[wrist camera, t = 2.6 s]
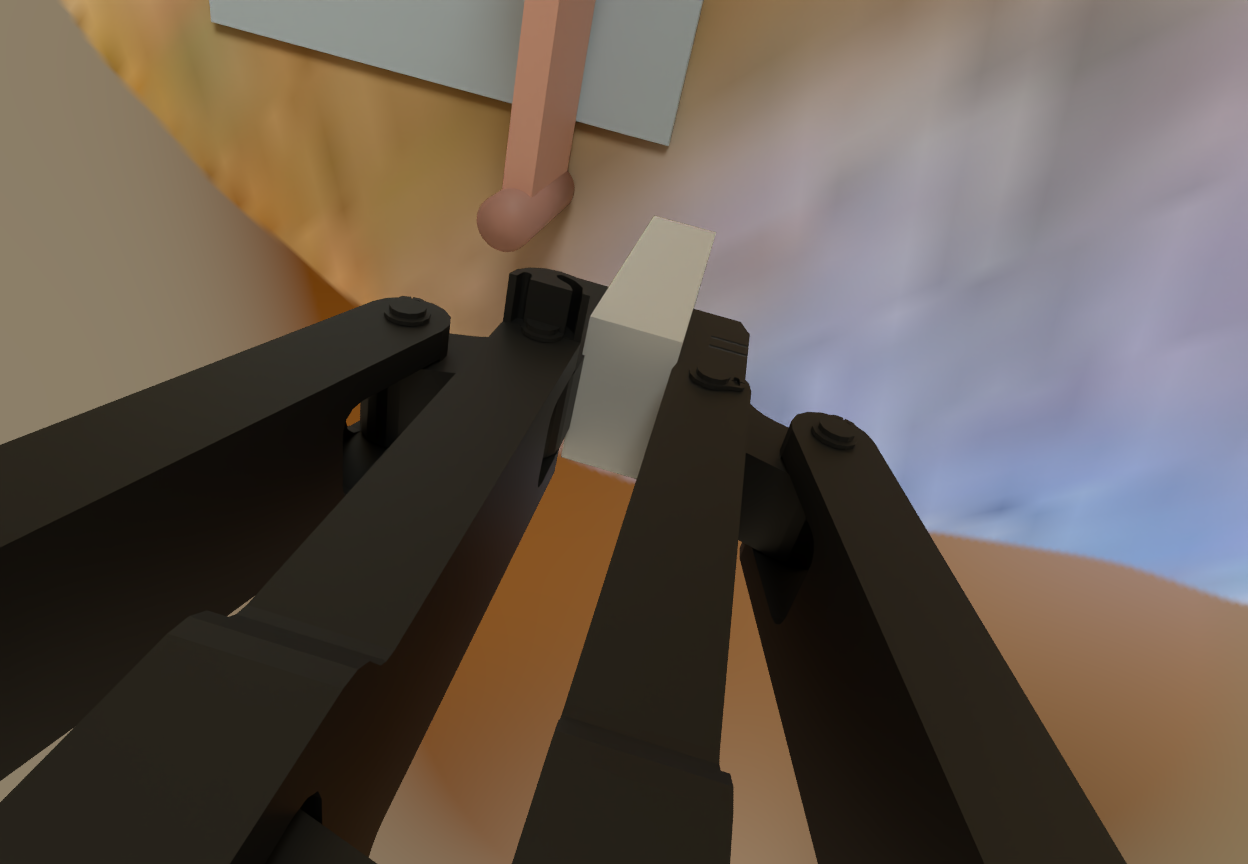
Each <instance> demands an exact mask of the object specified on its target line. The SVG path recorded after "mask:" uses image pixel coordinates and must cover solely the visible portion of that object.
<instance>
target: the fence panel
mask: <svg viewBox="0 0 1248 864" xmlns="http://www.w3.org/2000/svg"><path fill="white" fill-rule="evenodd" d="M595 1H596V0H525V1H524V9H523V18H522V26H521V35H520V43H519V51H518V60H517V68H516V77H515V85H514V94H513V102H512V110H511V119H510V127H509V136H508V144H507V153H506V161H505V169H504V178H503V186H502V190H500V191H499V192H497V193H495V194H494V195H492V196H491V197H489V198H488V199H486V200H485V201H484V202H483V203H482V204H481V206H480V208H479V210H478V213H477V226H478V229H479V232H480V234H481V236H482V238H483V239H484V240H485V241H486V242H487V243H488V244H489V245H490V246H491V247H493V248H495V249H497V250H499V251H503V252H511V251H515V250H518V249H520V248H521V247H522V246H523V245H525V244H526V243H527V242H528V241H529V240H530V239H531V238H532V237H533V236H534V235H536V234H537V233H538V232H539V231H540V230H541V229H542V228H543V227H544V226H545V225H546V224H548V223H549V222H550V221H551V220H552V219H553V218H554V217H555V216H556V215H557V214H559V213H560V212H561V211H562V210H563V209H564V208H565V207H566V206H567V205H568V204H569V203H570V202H571V200H572V198H573V195H574V182H573V179H572V177H571V175H570V173H569V172H568V171H567V170H568V164H569V158H570V152H571V146H572V139H573V133H574V127H575V121H576V115H577V109H578V103H579V97H580V91H581V85H582V79H583V73H584V67H585V61H586V55H587V49H588V43H589V37H590V31H591V25H592V19H593V13H594V7H595Z"/></svg>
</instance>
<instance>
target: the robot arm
mask: <svg viewBox="0 0 1248 864" xmlns="http://www.w3.org/2000/svg"><path fill="white" fill-rule="evenodd" d="M715 234H716V233H715V232H712V231H708V230H705V229H701V228H697V227H694V226H690V225H687V224H683V223H679V222H676V221H672V220H668V219H665V218H661V217H658V216H654V217H653V218H652V220H651V221H650V223H649V225H648V226H647V228H646V229H645V231H644V232H643V234H642V236H641V237H640V239H639V240H638V242H637V243H636V245H635V247H634V248H633V250H632V251H631V253H630V254H629V256H628V258H627V259H626V261H625V262H624V264H623V265H622V267H621V269H620V270H619V272H618V273H617V275H616V276H615V278H614V280H613V281H612V283H611V284H610V286H609V287H607V286H604V285H600V284H597V283H593V282H590V281H586V280H582V279H579V278H576V277H574V276H571V275H568V274H566V273H563V272H560V271H555V270H550V269H545V268H524V269H517V270H515V271H513V272H511V273H510V274H509V281H508V289H507V296H506V303H505V311H504V318H503V322H502V323H501V324H500V325H499V326H498V327H497V328H496V329H495V330H494V332H493V333H492V334H491V335H490V336H489V337H476V336H466V335H458V334H450V333H449V330H450V319H451V317H450V316H449V315H448V313H447V312H446V311H445V310H444V309H442V308H440V307H438V306H437V305H435V304H432V303H429V302H426V301H424V300H422V299H420V298H415V297H413V299H411V297H407V296H401V297H399V298H384V299H380V300H376V301H372V302H370V303H367V304H365V305H362V306H359V307H357V308H354V309H352V310H349V311H347V312H344V313H341V314H339V315H336V316H334V317H331V318H328V319H326V320H323V321H321V322H318V323H316V324H313V325H310V326H308V327H305V328H302V329H300V330H297V331H295V332H292V333H289V334H287V335H285V336H282V337H279V338H276V339H274V340H271V341H269V342H266V343H264V344H261V345H258V346H256V347H253V348H251V349H248V350H245V351H243V352H240V353H238V354H235V355H233V356H230V357H227V358H225V359H222V360H220V361H217V362H214V363H212V364H209V365H206V366H204V367H201V368H199V369H196V370H193V371H191V372H188V373H186V374H183V375H181V376H178V377H175V378H173V379H170V380H168V381H165V382H162V383H160V384H157V385H155V386H152V387H149V388H147V389H144V390H142V391H139V392H136V393H134V394H131V395H129V396H126V397H123V398H121V399H118V400H116V401H113V402H111V403H108V404H105V405H103V406H100V407H98V408H95V409H92V410H90V411H87V412H85V413H82V414H79V415H77V416H74V417H72V418H69V419H67V420H64V421H61V422H59V423H56V424H53V425H51V426H48V427H46V428H43V429H40V430H38V431H35V432H33V433H30V434H27V435H25V436H22V437H20V438H17V439H15V440H12V441H9V442H7V443H4V444H2V445H0V781H1V780H2V779H4V778H5V777H6V776H8V775H9V774H10V773H12V772H13V771H15V770H16V769H17V768H19V767H20V766H21V765H23V764H24V763H26V762H27V761H28V760H30V759H31V758H33V757H34V756H35V755H37V754H38V753H39V752H41V751H42V750H43V749H45V748H46V747H48V746H49V745H50V744H52V743H53V742H54V741H56V740H57V739H59V738H60V737H61V736H63V735H64V734H66V733H67V732H68V731H70V730H71V729H72V728H73V730H72V731H70V733H69V734H67V736H66V737H65V738H64V739H63V740H62V741H61V742H60V743H59V744H58V745H57V746H56V747H55V748H54V749H53V750H52V751H51V752H50V753H49V754H48V755H47V756H46V757H45V758H44V759H43V760H42V761H41V762H40V763H39V764H38V765H37V766H36V767H35V768H34V769H33V770H32V771H31V772H30V773H29V774H28V775H27V776H26V777H25V778H24V779H23V780H22V781H21V782H20V783H19V784H18V785H17V786H16V787H15V788H14V789H13V790H12V791H11V792H10V793H9V794H8V795H7V796H6V797H5V798H4V799H3V800H2V801H1V802H0V864H376V863H375V862H374V861H372V860H371V859H370V858H369V855H370V851H371V848H372V845H373V842H374V840H375V837H376V835H377V832H378V830H379V828H380V825H381V823H382V821H383V819H384V817H385V814H386V813H387V811H388V809H389V806H390V805H391V802H392V800H393V798H394V796H395V794H396V792H397V790H398V788H399V786H400V784H401V782H402V780H403V778H404V776H405V774H406V772H407V770H408V768H409V766H410V764H411V762H412V760H413V758H414V756H415V754H416V751H417V750H418V748H419V745H420V744H421V742H422V740H423V737H424V735H425V733H426V731H427V729H428V727H429V725H430V723H431V721H432V719H433V717H434V715H435V713H436V711H437V709H438V707H439V705H440V703H441V701H442V699H443V697H444V695H445V693H446V691H447V689H448V687H449V685H450V682H451V681H452V678H453V677H454V675H455V672H456V670H457V668H458V666H459V664H460V662H461V660H462V658H463V656H464V654H465V652H466V650H467V648H468V646H469V644H470V642H471V640H472V638H473V636H474V634H475V632H476V630H477V628H478V626H479V623H480V622H481V620H482V618H483V616H484V613H485V612H486V610H487V607H488V605H489V603H490V601H491V599H492V597H493V595H494V593H495V591H496V589H497V587H498V585H499V583H500V581H501V579H502V577H503V575H504V573H505V571H506V569H507V567H508V565H509V563H510V560H511V558H512V557H513V554H514V553H515V550H516V548H517V547H518V545H519V542H520V540H521V538H522V536H523V534H524V532H525V530H526V528H527V526H528V524H529V522H530V520H531V518H532V516H533V514H534V512H535V510H536V508H537V506H538V504H539V502H540V500H541V498H542V496H543V494H544V492H545V490H546V488H547V485H548V484H549V481H550V479H551V477H552V475H553V473H554V471H555V465H556V461H557V456H558V451H559V447H560V445H561V443H562V442H563V440H564V438H565V440H564V445H563V450H562V454H561V457H563V458H567V459H570V460H573V461H577V462H580V463H584V464H587V465H590V466H594V467H597V468H601V469H604V470H607V471H611V472H614V473H617V474H621V475H624V476H628V477H631V478H634V479H637V480H636V483H635V486H634V489H633V493H632V496H631V499H630V502H629V505H628V508H627V511H626V515H625V518H624V521H623V524H622V527H621V530H620V533H619V537H618V540H617V543H616V546H615V549H614V552H613V556H612V558H611V562H610V565H609V568H608V571H607V574H606V577H605V581H604V584H603V587H602V590H601V593H600V596H599V599H598V602H597V606H596V609H595V612H594V615H593V618H592V622H591V625H590V628H589V631H588V634H587V637H586V640H585V644H584V647H583V650H582V653H581V656H580V659H579V663H578V665H577V669H576V672H575V675H574V678H573V681H572V684H571V687H570V691H569V694H568V697H567V700H566V703H565V706H564V709H563V712H562V715H561V718H560V720H559V721H558V723H557V726H556V729H555V732H554V735H553V738H552V741H551V744H550V747H549V750H548V753H547V756H546V759H545V762H544V766H543V769H542V772H541V775H540V778H539V781H538V784H537V787H536V790H535V793H534V797H533V800H532V803H531V806H530V809H529V812H528V815H527V818H526V822H525V825H524V828H523V831H522V834H521V837H520V840H519V843H518V846H517V850H516V853H515V856H514V859H513V862H512V864H730V856H731V840H732V824H733V784H732V780H731V775H730V774H729V773H726V772H722V771H721V770H720V766H719V755H720V742H721V730H722V719H723V718H722V717H723V706H724V695H725V684H726V673H727V661H728V650H729V639H730V627H731V616H732V604H733V592H734V582H735V570H736V559H737V547H738V540H739V541H741V542H742V544H741V546H740V561H741V565H742V569H743V573H744V577H745V581H746V585H747V588H748V592H749V596H750V600H751V604H752V608H753V612H754V615H755V620H756V624H757V628H758V631H759V635H760V639H761V643H762V647H763V651H764V655H765V658H766V663H767V667H768V670H769V674H770V678H771V682H772V686H773V690H774V694H775V698H776V702H777V706H778V709H779V713H780V717H781V721H782V725H783V729H784V733H785V737H786V741H787V745H788V748H789V753H790V756H791V760H792V764H793V768H794V772H795V776H796V780H797V784H798V788H799V792H800V796H801V800H802V803H803V807H804V811H805V815H806V819H807V823H808V826H809V831H810V834H811V839H812V842H813V846H814V850H815V854H816V858H817V862H818V864H1127V863H1126V862H1125V860H1124V858H1123V857H1122V855H1121V853H1120V852H1119V850H1118V848H1117V847H1116V845H1115V843H1114V842H1113V840H1112V839H1111V837H1110V835H1109V833H1108V832H1107V830H1106V828H1105V827H1104V825H1103V823H1102V822H1101V820H1100V818H1099V817H1098V815H1097V813H1096V812H1095V810H1094V808H1093V807H1092V805H1091V803H1090V802H1089V800H1088V799H1087V797H1086V795H1085V793H1084V792H1083V790H1082V788H1081V787H1080V785H1079V783H1078V782H1077V780H1076V778H1075V777H1074V775H1073V773H1072V772H1071V770H1070V768H1069V767H1068V765H1067V763H1066V762H1065V760H1064V758H1063V757H1062V755H1061V753H1060V752H1059V750H1058V748H1057V747H1056V745H1055V743H1054V742H1053V740H1052V738H1051V737H1050V735H1049V733H1048V732H1047V730H1046V728H1045V727H1044V725H1043V723H1042V722H1041V720H1040V718H1039V717H1038V715H1037V713H1036V712H1035V710H1034V708H1033V707H1032V705H1031V703H1030V702H1029V700H1028V698H1027V697H1026V695H1025V694H1024V692H1023V690H1022V688H1021V687H1020V685H1019V683H1018V682H1017V680H1016V678H1015V676H1014V675H1013V673H1012V671H1011V670H1010V668H1009V666H1008V665H1007V663H1006V661H1005V660H1004V658H1003V656H1002V655H1001V653H1000V651H999V650H998V648H997V646H996V645H995V643H994V641H993V640H992V638H991V637H990V635H989V633H988V631H987V630H986V628H985V626H984V625H983V623H982V621H981V620H980V618H979V617H978V615H977V613H976V612H975V610H974V608H973V606H972V605H971V603H970V601H969V600H968V598H967V597H966V595H965V593H964V591H963V590H962V588H961V586H960V585H959V583H958V582H957V580H956V578H955V576H954V575H953V573H952V572H951V570H950V568H949V566H948V565H947V563H946V561H945V560H944V558H943V556H942V555H941V553H940V552H939V550H938V548H937V546H936V545H935V543H934V541H933V540H932V538H931V536H930V535H929V533H928V531H927V530H926V528H925V526H924V525H923V523H922V521H921V520H920V518H919V516H918V515H917V513H916V511H915V510H914V508H913V506H912V505H911V503H910V501H909V500H908V498H907V496H906V495H905V493H904V491H903V490H902V488H901V486H900V485H899V483H898V481H897V480H896V478H895V476H894V475H893V473H892V471H891V470H890V468H889V466H888V465H887V463H886V461H885V460H884V458H883V456H882V455H881V453H880V451H879V450H878V448H877V446H876V445H875V443H874V442H873V441H872V439H871V438H870V437H869V436H868V435H867V434H866V433H865V432H864V431H862V430H861V429H859V428H858V427H856V426H855V425H854V423H852V422H850V421H848V420H846V419H845V420H843V418H842V417H839V416H836V415H828V414H824V413H816V412H806V413H802V414H798V415H796V416H795V418H794V419H793V420H792V421H791V424H790V426H789V428H788V427H786V426H784V425H782V424H780V423H778V422H775V421H774V420H772V419H770V418H768V417H766V416H764V415H763V414H762V413H760V412H759V411H758V410H756V409H755V408H754V407H753V406H752V405H751V404H750V399H751V389H750V386H749V383H748V382H747V381H746V380H745V376H746V366H747V355H748V346H749V336H750V335H749V333H748V332H747V330H746V329H745V328H744V326H743V325H742V323H741V322H738V321H735V320H731V319H728V318H724V317H721V316H717V315H714V314H710V313H707V312H703V311H699V310H696V309H694V306H695V303H696V300H697V296H698V293H699V289H700V286H701V282H702V279H703V275H704V272H705V269H706V265H707V262H708V258H709V255H710V251H711V248H712V245H713V241H714V238H715ZM360 402H361V405H360V421H358V422H356V423H355V424H353V425H351V426H347V424H346V419H347V418H348V416H349V414H350V413H351V411H352V409H353V408H355V407H356V406H357V405H358V404H359V403H360ZM254 596H255V597H254ZM252 597H254V598H253V599H252V600H251V601H250V602H249V603H248V604H247V605H246V606H245V607H244V608H243V609H242V610H241V611H239V612H238V613H237V614H235V615H233V616H230V617H227V616H228V615H229V614H230V613H232V612H233V611H234V610H236V609H237V608H239V607H240V606H241V605H243V604H244V603H245V602H247V601H248V600H249V599H251V598H252Z"/></svg>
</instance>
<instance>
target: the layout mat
mask: <svg viewBox="0 0 1248 864" xmlns="http://www.w3.org/2000/svg"><path fill="white" fill-rule="evenodd" d="M524 1H525V0H209V2H210V13H211V22H214V23H218V24H221V25H225V26H229V27H232V28H236V29H240V30H243V31H247V32H251V33H254V34H258V35H262V36H265V37H269V38H273V39H276V40H280V41H284V42H287V43H291V44H295V45H298V46H302V47H306V48H309V49H313V50H317V51H320V52H324V53H328V54H331V55H335V56H339V57H343V58H346V59H350V60H354V61H357V62H361V63H365V64H368V65H372V66H376V67H379V68H383V69H387V70H390V71H394V72H398V73H401V74H405V75H409V76H412V77H416V78H420V79H423V80H427V81H431V82H434V83H438V84H442V85H445V86H449V87H453V88H456V89H460V90H464V91H467V92H471V93H475V94H478V95H482V96H486V97H489V98H493V99H497V100H500V101H504V102H508V103H512V102H513V94H514V85H515V77H516V68H517V60H518V51H519V43H520V35H521V26H522V18H523V9H524ZM703 1H704V0H596V1H595V7H594V13H593V19H592V25H591V31H590V37H589V43H588V49H587V55H586V61H585V67H584V73H583V79H582V85H581V91H580V97H579V103H578V109H577V115H576V121H578V122H581V123H585V124H589V125H592V126H596V127H600V128H603V129H607V130H611V131H614V132H618V133H622V134H625V135H629V136H633V137H636V138H640V139H644V140H647V141H651V142H655V143H658V144H662V145H666V146H669V144H670V140H671V136H672V131H673V127H674V123H675V119H676V115H677V110H678V106H679V102H680V98H681V93H682V89H683V85H684V81H685V77H686V72H687V68H688V64H689V60H690V56H691V51H692V47H693V43H694V39H695V35H696V30H697V26H698V22H699V18H700V14H701V9H702V5H703Z"/></svg>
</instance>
